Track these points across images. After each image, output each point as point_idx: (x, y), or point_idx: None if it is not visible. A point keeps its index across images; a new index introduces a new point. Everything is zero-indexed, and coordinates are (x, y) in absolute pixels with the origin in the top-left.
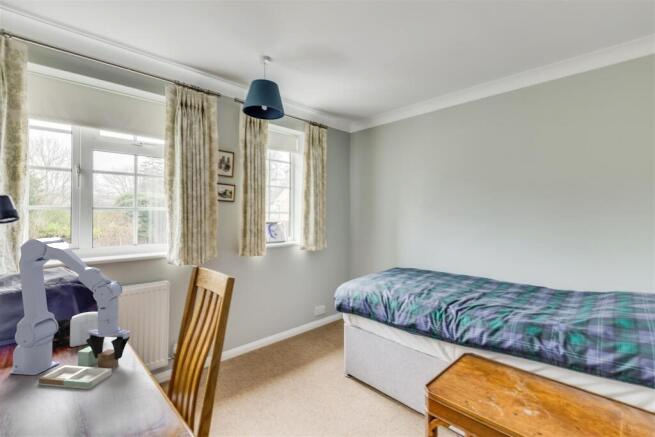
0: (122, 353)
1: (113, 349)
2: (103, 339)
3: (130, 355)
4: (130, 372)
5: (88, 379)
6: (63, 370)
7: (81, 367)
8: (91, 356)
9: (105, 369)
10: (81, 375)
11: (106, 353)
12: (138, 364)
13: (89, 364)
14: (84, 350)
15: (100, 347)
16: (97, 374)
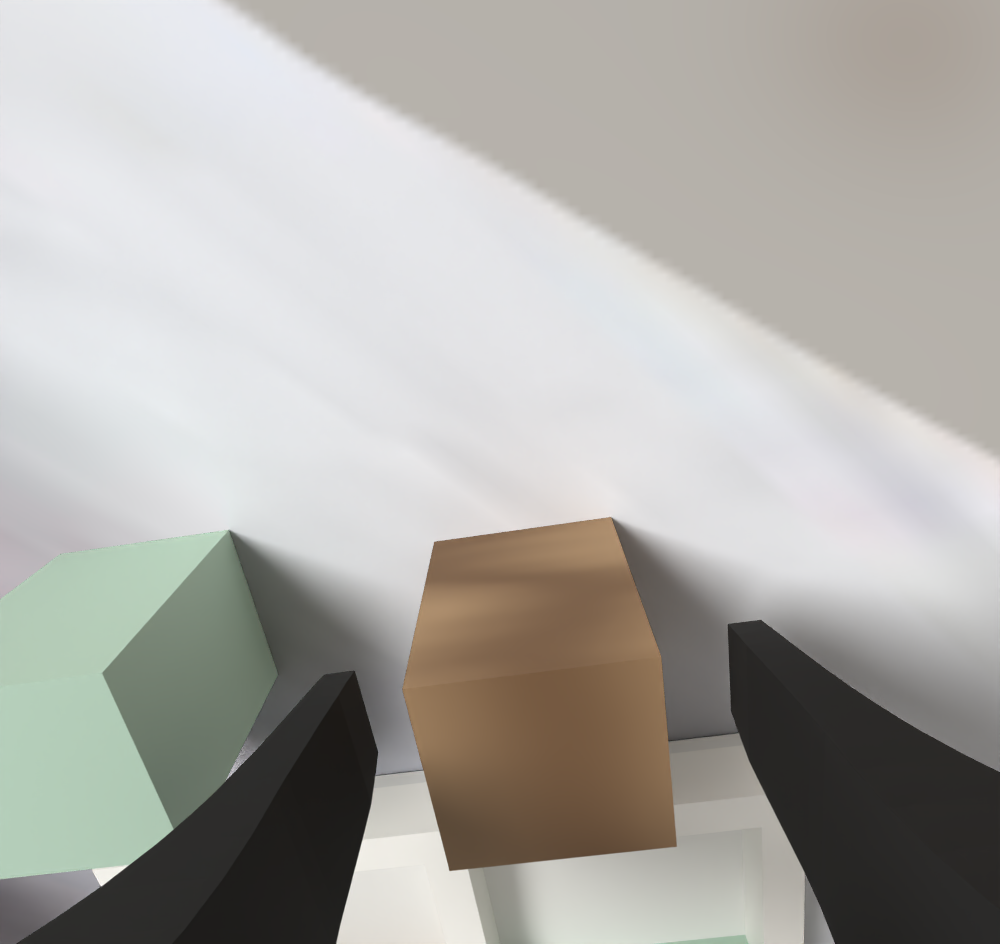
0: (799, 654)
1: (542, 675)
2: (210, 917)
3: (545, 230)
4: (985, 637)
5: (632, 877)
6: None
7: (367, 858)
8: (212, 725)
9: (738, 819)
10: None
11: (570, 812)
12: (946, 446)
13: (267, 679)
14: (26, 835)
15: (302, 820)
16: None
